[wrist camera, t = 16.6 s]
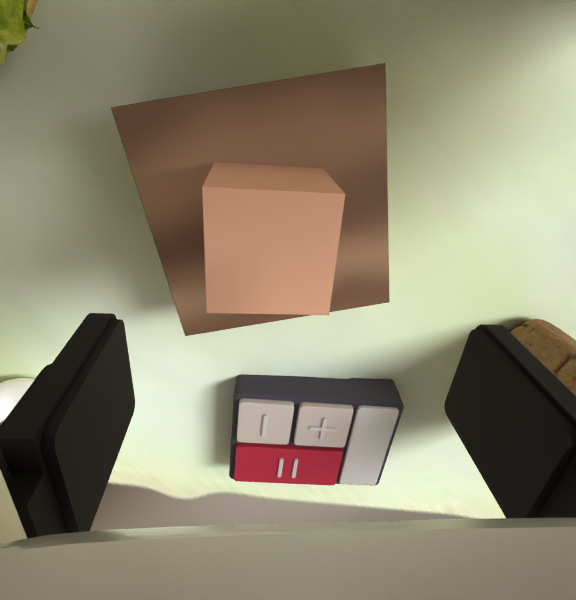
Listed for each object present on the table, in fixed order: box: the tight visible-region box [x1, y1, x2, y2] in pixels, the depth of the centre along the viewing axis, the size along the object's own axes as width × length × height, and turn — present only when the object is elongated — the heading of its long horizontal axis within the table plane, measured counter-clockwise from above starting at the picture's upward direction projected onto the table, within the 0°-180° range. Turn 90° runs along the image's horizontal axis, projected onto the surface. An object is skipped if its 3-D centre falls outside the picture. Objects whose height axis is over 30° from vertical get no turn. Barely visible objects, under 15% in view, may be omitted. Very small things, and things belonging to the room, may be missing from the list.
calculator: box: [229, 375, 404, 486], centre depth 37 cm, size 11×4×15 cm
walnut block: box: [111, 63, 389, 336], centre depth 26 cm, size 14×14×6 cm
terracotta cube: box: [202, 162, 345, 315], centre depth 20 cm, size 6×6×6 cm
